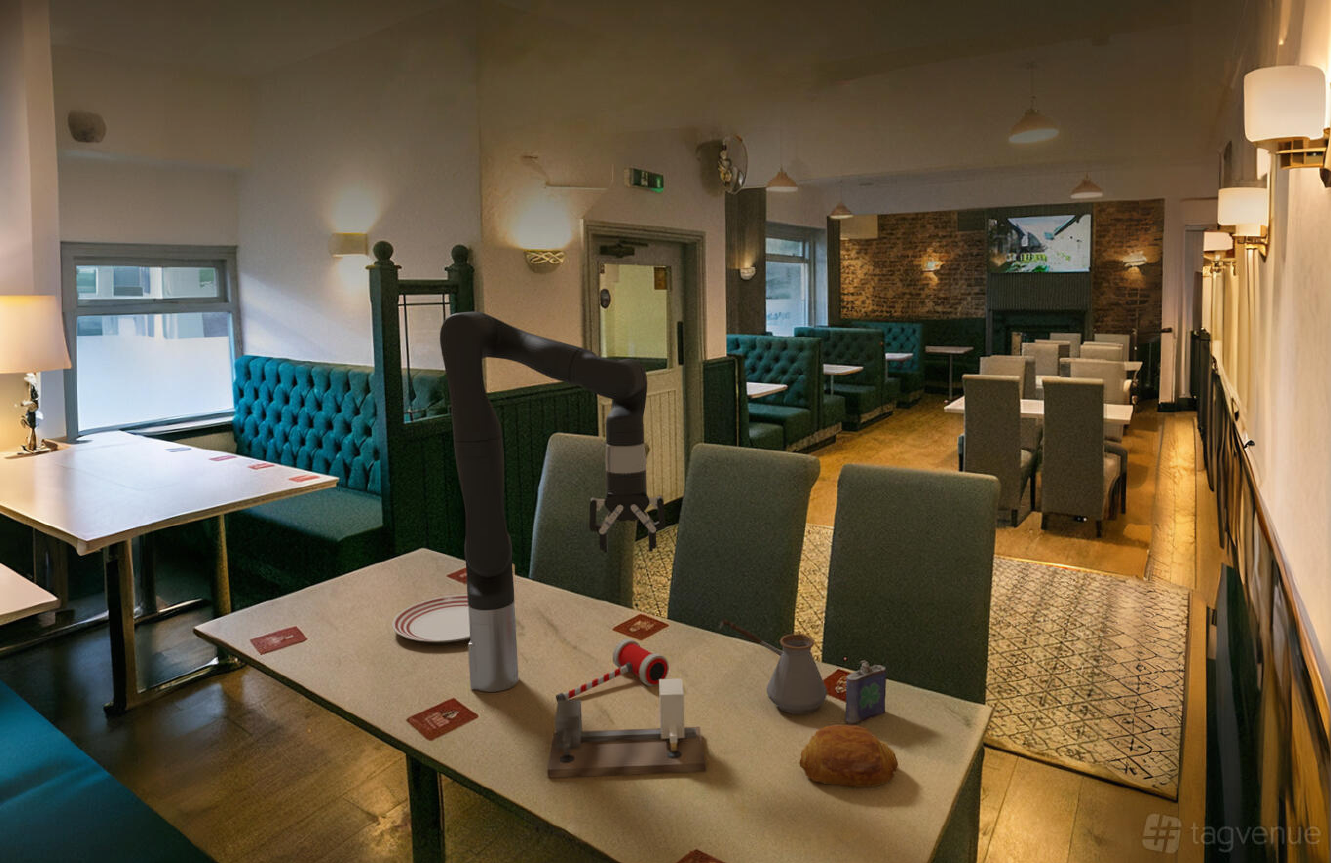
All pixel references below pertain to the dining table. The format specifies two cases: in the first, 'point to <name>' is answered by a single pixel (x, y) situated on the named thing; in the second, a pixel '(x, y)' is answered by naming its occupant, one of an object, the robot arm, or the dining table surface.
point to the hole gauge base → (618, 749)
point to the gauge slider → (671, 710)
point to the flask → (865, 693)
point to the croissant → (848, 757)
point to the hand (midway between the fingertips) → (628, 551)
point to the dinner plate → (435, 620)
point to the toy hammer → (628, 667)
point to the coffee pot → (792, 673)
